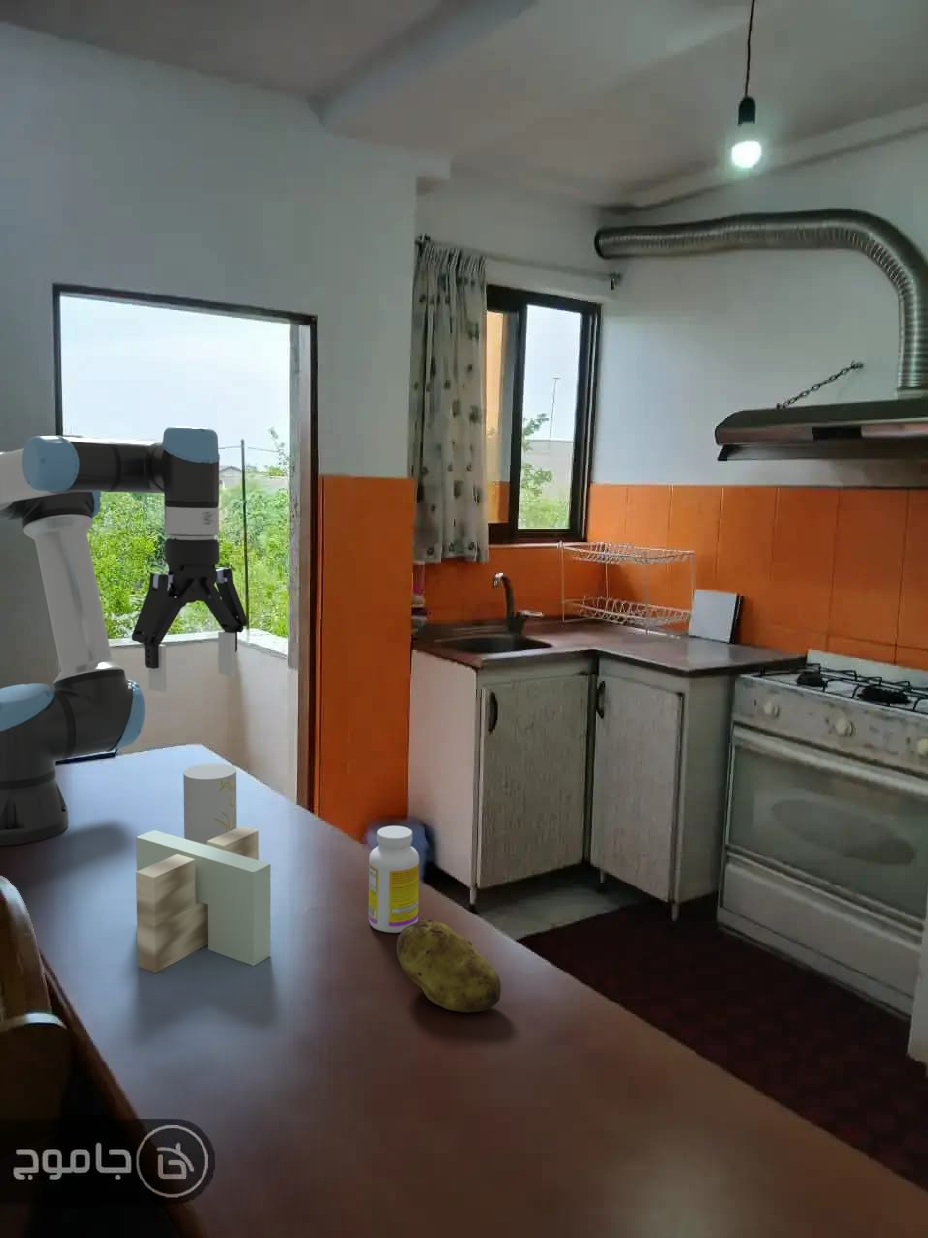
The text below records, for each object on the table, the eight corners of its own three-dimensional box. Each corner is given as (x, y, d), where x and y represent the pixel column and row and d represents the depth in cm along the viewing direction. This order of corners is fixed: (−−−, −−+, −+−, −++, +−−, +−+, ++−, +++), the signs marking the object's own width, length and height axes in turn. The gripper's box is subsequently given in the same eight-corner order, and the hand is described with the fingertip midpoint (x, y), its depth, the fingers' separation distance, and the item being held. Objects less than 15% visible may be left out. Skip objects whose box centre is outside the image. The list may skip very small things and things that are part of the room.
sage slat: (138, 924, 123) (136, 837, 121) (155, 915, 126) (154, 830, 124) (253, 966, 113) (253, 872, 112) (270, 955, 116) (270, 863, 114)
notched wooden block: (155, 973, 111) (153, 877, 109) (138, 966, 113) (135, 872, 111) (258, 915, 127) (258, 830, 125) (242, 909, 128) (241, 825, 126)
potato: (449, 1036, 100) (452, 966, 99) (385, 983, 111) (386, 920, 109) (509, 1011, 106) (511, 945, 104) (441, 963, 116) (443, 902, 114)
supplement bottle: (426, 918, 127) (429, 828, 125) (403, 939, 121) (405, 845, 119) (383, 908, 130) (385, 819, 128) (358, 927, 124) (360, 835, 122)
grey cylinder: (228, 853, 147) (228, 780, 145) (177, 851, 147) (176, 778, 145) (242, 834, 155) (241, 764, 153) (193, 832, 155) (192, 762, 153)
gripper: (141, 542, 121) (144, 701, 125) (271, 535, 143) (270, 671, 146) (102, 538, 125) (106, 693, 128) (234, 532, 147) (234, 665, 150)
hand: (193, 682), depth 137 cm, fingers open, 13 cm apart
